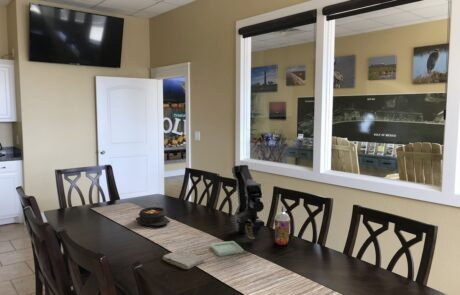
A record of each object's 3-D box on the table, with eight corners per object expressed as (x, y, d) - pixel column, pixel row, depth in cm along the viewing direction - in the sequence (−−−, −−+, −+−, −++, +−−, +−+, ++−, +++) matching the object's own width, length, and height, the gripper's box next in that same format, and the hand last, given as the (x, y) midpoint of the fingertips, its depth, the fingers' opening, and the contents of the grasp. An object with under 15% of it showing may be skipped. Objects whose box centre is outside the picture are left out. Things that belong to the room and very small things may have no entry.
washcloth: (179, 253, 184) (179, 247, 184) (205, 262, 173) (205, 256, 173) (161, 260, 175) (160, 254, 175) (187, 271, 164) (187, 264, 163)
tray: (210, 247, 191) (210, 243, 191) (233, 244, 196) (233, 240, 196) (218, 256, 179) (218, 253, 179) (243, 252, 184) (243, 249, 184)
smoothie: (277, 246, 192) (278, 209, 190) (271, 241, 200) (272, 205, 198) (292, 245, 194) (293, 208, 192) (285, 240, 202) (286, 204, 200)
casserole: (177, 223, 231) (176, 210, 230) (153, 231, 217) (152, 217, 216) (152, 216, 247) (152, 203, 246) (128, 222, 233) (128, 209, 232)
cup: (257, 235, 203) (258, 221, 202) (259, 240, 195) (259, 225, 195) (244, 235, 202) (244, 221, 202) (245, 240, 195) (245, 226, 194)
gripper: (231, 204, 203) (231, 231, 204) (245, 213, 186) (245, 243, 187) (250, 202, 207) (249, 229, 209) (265, 210, 190) (264, 240, 191)
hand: (251, 235), depth 199 cm, fingers closed on cup, 6 cm apart
